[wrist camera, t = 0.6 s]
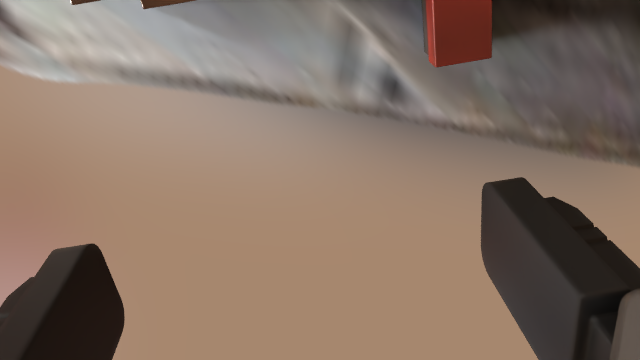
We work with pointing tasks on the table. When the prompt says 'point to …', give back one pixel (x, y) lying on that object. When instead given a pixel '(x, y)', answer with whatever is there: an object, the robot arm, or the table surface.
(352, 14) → the table surface
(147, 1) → the rack
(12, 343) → the robot arm
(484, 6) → the brush
